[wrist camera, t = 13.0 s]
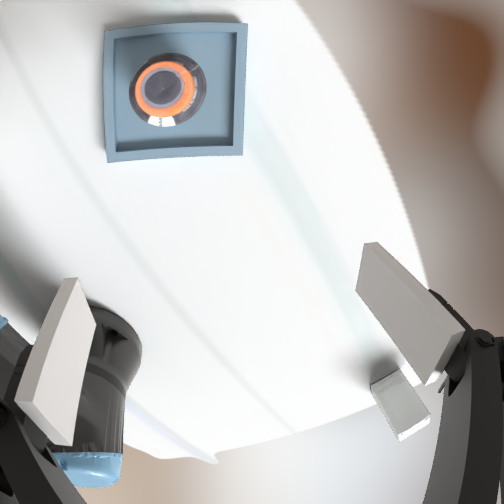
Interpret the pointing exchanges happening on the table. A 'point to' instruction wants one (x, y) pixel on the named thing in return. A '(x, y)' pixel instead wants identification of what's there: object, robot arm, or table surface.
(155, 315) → the table surface
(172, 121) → the pill bottle
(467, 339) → the robot arm
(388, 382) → the skincare box
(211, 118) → the tray
